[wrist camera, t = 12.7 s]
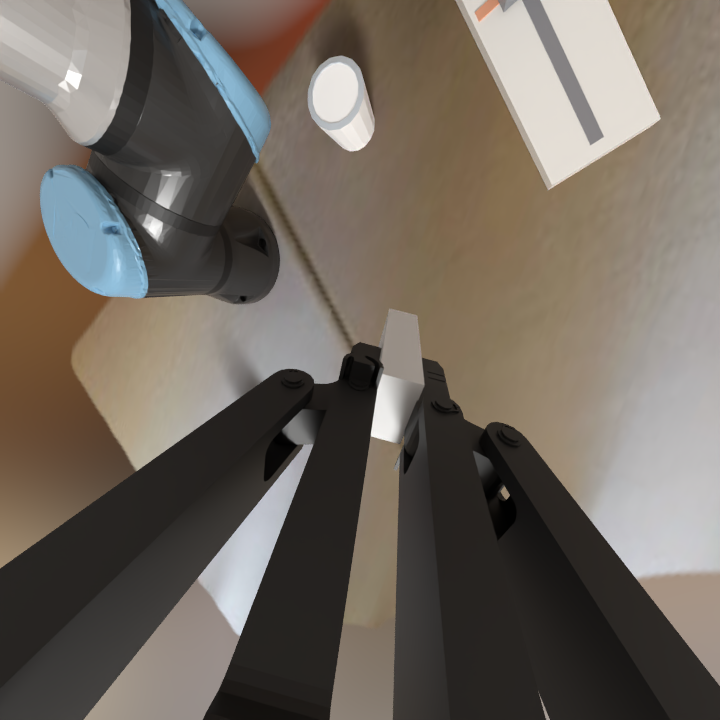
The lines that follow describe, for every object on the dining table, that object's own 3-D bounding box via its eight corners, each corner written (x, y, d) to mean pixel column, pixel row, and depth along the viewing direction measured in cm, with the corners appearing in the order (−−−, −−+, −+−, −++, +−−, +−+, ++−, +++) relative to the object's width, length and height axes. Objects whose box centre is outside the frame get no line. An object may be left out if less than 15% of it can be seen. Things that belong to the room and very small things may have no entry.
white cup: (372, 159, 38) (356, 133, 31) (326, 153, 39) (302, 126, 33) (385, 98, 36) (370, 56, 29) (336, 93, 37) (312, 52, 31)
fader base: (650, 126, 29) (661, 117, 28) (548, 190, 33) (552, 185, 31) (539, -119, 27) (544, -143, 26) (444, -22, 31) (444, -38, 30)
